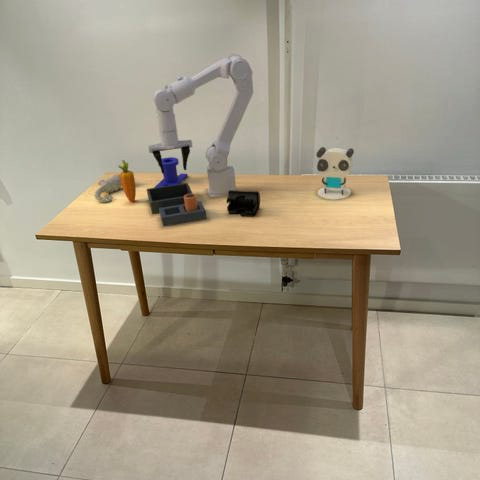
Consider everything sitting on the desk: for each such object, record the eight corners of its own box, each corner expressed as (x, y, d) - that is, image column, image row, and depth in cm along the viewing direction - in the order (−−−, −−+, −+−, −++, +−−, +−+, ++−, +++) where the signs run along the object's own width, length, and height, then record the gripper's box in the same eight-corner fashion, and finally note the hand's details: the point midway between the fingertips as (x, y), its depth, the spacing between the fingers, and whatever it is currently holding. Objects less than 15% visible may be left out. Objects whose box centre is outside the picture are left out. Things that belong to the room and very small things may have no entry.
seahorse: (118, 201, 166) (139, 172, 179) (87, 190, 165) (110, 162, 179) (117, 212, 169) (138, 184, 183) (87, 202, 169) (109, 174, 182)
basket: (189, 195, 169) (187, 182, 166) (195, 208, 159) (193, 195, 157) (148, 201, 167) (146, 189, 164) (152, 215, 157) (150, 202, 154)
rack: (160, 217, 155) (158, 208, 153) (202, 211, 157) (201, 201, 155) (163, 227, 149) (161, 217, 147) (206, 220, 151) (205, 210, 149)
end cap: (260, 207, 157) (260, 188, 152) (256, 217, 151) (255, 197, 147) (232, 206, 159) (230, 187, 155) (226, 215, 153) (224, 195, 149)
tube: (197, 214, 156) (195, 192, 151) (199, 219, 153) (197, 197, 148) (185, 216, 155) (182, 194, 150) (187, 221, 152) (184, 199, 147)
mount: (170, 176, 186) (166, 153, 180) (187, 176, 184) (184, 154, 179) (154, 190, 174) (150, 167, 169) (173, 191, 172) (169, 168, 167)
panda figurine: (312, 197, 161) (313, 153, 152) (320, 185, 169) (322, 142, 160) (347, 201, 157) (350, 155, 148) (353, 188, 165) (357, 144, 156)
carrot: (136, 206, 164) (127, 163, 155) (123, 206, 165) (113, 163, 156) (141, 200, 168) (133, 158, 159) (128, 200, 169) (119, 158, 160)
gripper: (147, 136, 149) (154, 177, 157) (191, 130, 151) (196, 171, 160) (144, 130, 154) (152, 171, 163) (188, 124, 157) (193, 165, 165)
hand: (174, 170), depth 161 cm, fingers open, 7 cm apart
